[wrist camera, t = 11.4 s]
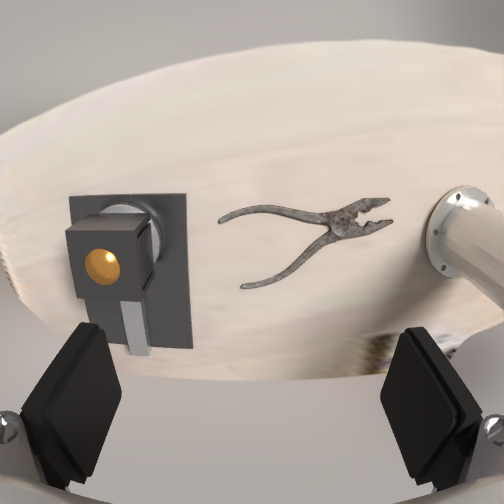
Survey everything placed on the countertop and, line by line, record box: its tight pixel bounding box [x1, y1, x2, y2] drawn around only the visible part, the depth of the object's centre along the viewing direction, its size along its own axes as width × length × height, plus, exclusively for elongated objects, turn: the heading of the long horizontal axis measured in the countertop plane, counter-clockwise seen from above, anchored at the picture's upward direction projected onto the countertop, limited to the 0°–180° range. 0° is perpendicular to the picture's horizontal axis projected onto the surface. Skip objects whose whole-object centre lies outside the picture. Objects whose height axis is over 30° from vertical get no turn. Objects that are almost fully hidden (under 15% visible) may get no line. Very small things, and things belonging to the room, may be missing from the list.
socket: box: [65, 213, 155, 302], centre depth 30 cm, size 7×7×6 cm
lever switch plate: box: [69, 193, 193, 356], centre depth 34 cm, size 14×20×6 cm
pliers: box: [219, 198, 393, 289], centre depth 36 cm, size 10×1×20 cm
